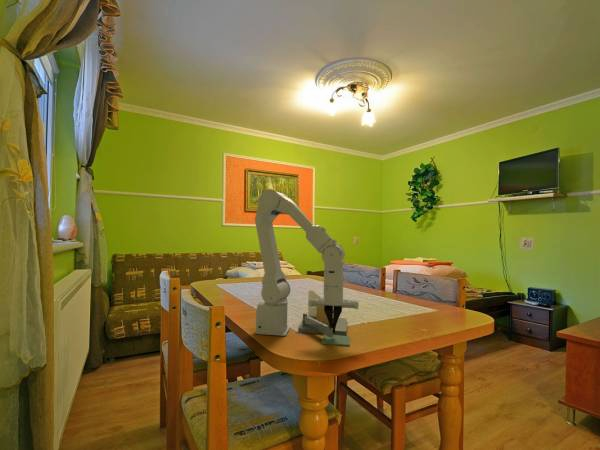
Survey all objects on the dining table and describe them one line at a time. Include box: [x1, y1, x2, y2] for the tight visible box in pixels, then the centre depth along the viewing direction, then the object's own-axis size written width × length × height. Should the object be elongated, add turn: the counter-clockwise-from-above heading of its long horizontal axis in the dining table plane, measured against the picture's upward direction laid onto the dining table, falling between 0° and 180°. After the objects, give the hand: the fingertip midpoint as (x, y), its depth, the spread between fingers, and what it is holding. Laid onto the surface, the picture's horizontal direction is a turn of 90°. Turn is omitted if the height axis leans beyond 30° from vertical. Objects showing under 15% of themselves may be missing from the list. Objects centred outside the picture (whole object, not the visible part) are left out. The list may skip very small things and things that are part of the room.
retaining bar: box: [302, 313, 333, 337], centre depth 89 cm, size 15×1×3 cm, turn 30°
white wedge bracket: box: [307, 289, 322, 316], centre depth 107 cm, size 4×10×9 cm
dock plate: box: [297, 316, 348, 336], centre depth 96 cm, size 15×14×1 cm
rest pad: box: [321, 334, 351, 347], centre depth 84 cm, size 8×7×1 cm
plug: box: [316, 306, 330, 326], centre depth 99 cm, size 5×5×7 cm
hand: (332, 331), depth 85 cm, fingers closed
